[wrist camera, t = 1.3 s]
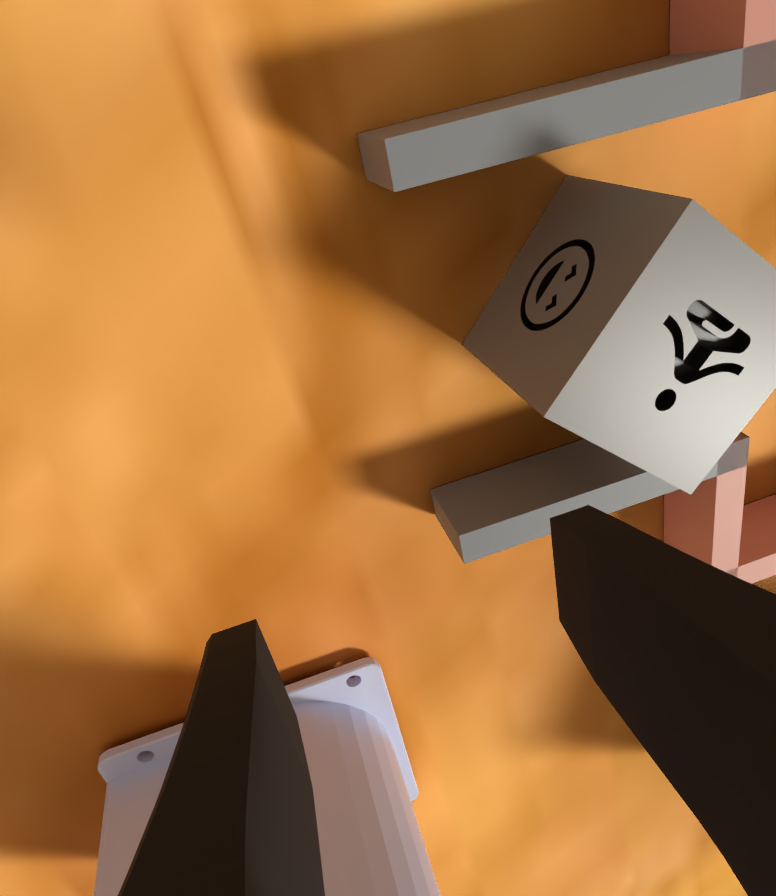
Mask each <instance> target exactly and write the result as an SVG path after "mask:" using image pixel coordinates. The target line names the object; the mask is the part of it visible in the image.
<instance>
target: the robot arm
mask: <svg viewBox="0 0 776 896" xmlns="http://www.w3.org/2000/svg"><path fill="white" fill-rule="evenodd" d="M550 526H551V537H552V547H553V557H554V567H555V578H556V588H557V598H558V608H559V619H560V622H561V624H562V625H563V627H564V629H565V631H566V632H567V634H568V636H569V638H570V640H571V641H572V643H573V645H574V647H575V648H576V650H577V652H578V654H579V655H580V657H581V659H582V660H583V662H584V664H585V666H586V667H587V669H588V671H589V672H590V674H591V676H592V677H593V679H594V681H595V682H596V683H597V685H598V686H599V688H600V689H601V690H602V692H603V693H604V694H605V696H606V697H607V699H608V700H609V701H610V703H611V704H612V705H613V707H614V708H615V709H616V711H617V712H618V713H619V715H620V716H621V717H622V719H623V720H624V721H625V723H626V724H627V726H628V727H629V728H630V730H631V731H632V732H633V734H634V735H635V736H636V738H637V739H638V740H639V742H640V743H641V744H642V746H643V747H644V748H645V750H646V751H647V752H648V754H649V755H650V756H651V758H652V759H653V760H654V762H655V763H656V764H657V766H658V767H659V768H660V770H661V771H662V772H663V774H664V775H665V776H666V778H667V779H668V780H669V782H670V783H671V784H672V786H673V787H674V788H675V790H676V791H677V792H678V794H679V795H680V796H681V798H682V799H683V800H684V801H685V803H686V804H687V805H688V807H689V808H690V809H691V811H692V812H693V813H694V815H695V816H696V817H697V819H698V820H699V822H700V823H701V824H702V826H703V827H704V829H705V830H706V832H707V833H708V835H709V836H710V837H711V839H712V840H713V842H714V843H715V845H716V846H717V847H718V849H719V850H720V852H721V853H722V855H723V856H724V858H725V859H726V861H727V863H728V864H729V866H730V867H731V869H732V871H733V872H734V874H735V875H736V877H737V879H738V880H739V882H740V883H741V885H742V887H743V888H744V890H745V891H746V893H747V895H748V896H776V594H773V593H771V592H769V591H767V590H764V589H762V588H760V587H758V586H755V585H753V584H751V583H749V582H746V581H744V580H742V579H740V578H737V577H735V576H733V575H731V574H729V573H727V572H724V571H722V570H720V569H718V568H716V567H714V566H712V565H709V564H707V563H705V562H703V561H701V560H699V559H697V558H695V557H693V556H691V555H689V554H687V553H684V552H682V551H680V550H678V549H676V548H674V547H672V546H670V545H668V544H666V543H664V542H662V541H660V540H658V539H656V538H654V537H652V536H650V535H648V534H646V533H644V532H642V531H640V530H638V529H636V528H634V527H632V526H630V525H628V524H626V523H624V522H622V521H620V520H618V519H616V518H614V517H612V516H610V515H608V514H606V513H604V512H602V511H600V510H598V509H596V508H594V507H592V506H590V505H587V506H584V507H581V508H578V509H575V510H572V511H569V512H566V513H563V514H560V515H557V516H555V517H552V518H550ZM354 675H357V676H355V677H353V678H349V677H351V676H354ZM143 751H149V752H143ZM98 771H99V773H100V775H101V776H102V778H103V779H104V780H105V782H106V783H107V788H106V796H105V805H104V813H103V821H102V830H101V838H100V846H99V855H98V863H97V871H96V880H95V888H94V896H441V895H440V892H439V889H438V885H437V882H436V879H435V876H434V873H433V870H432V866H431V863H430V860H429V857H428V854H427V851H426V848H425V844H424V841H423V838H422V835H421V832H420V829H419V826H418V822H417V819H416V816H415V813H414V810H413V807H412V803H411V802H412V801H414V800H415V799H416V797H417V796H418V788H417V785H416V781H415V778H414V775H413V771H412V768H411V765H410V762H409V758H408V755H407V752H406V748H405V745H404V742H403V739H402V735H401V732H400V729H399V725H398V722H397V719H396V715H395V712H394V709H393V706H392V702H391V699H390V696H389V692H388V689H387V686H386V683H385V679H384V676H383V673H382V669H381V667H380V664H379V662H378V660H376V659H375V658H371V657H366V658H362V659H359V660H356V661H353V662H350V663H348V664H345V665H342V666H339V667H337V668H334V669H331V670H328V671H325V672H323V673H320V674H317V675H314V676H311V677H309V678H306V679H303V680H300V681H298V682H295V683H292V684H289V685H286V686H284V684H283V682H282V680H281V677H280V675H279V673H278V670H277V668H276V665H275V663H274V661H273V658H272V656H271V654H270V651H269V649H268V647H267V644H266V642H265V639H264V637H263V635H262V632H261V630H260V628H259V625H258V623H257V620H256V619H255V620H252V621H249V622H246V623H243V624H240V625H237V626H234V627H231V628H229V629H226V630H223V631H220V632H217V633H214V634H212V635H211V637H210V638H209V640H208V641H207V643H206V647H205V651H204V655H203V659H202V663H201V666H200V670H199V674H198V677H197V681H196V684H195V688H194V691H193V694H192V698H191V701H190V704H189V708H188V711H187V714H186V717H185V720H184V722H183V723H180V724H178V725H175V726H172V727H169V728H167V729H164V730H161V731H158V732H155V733H153V734H150V735H147V736H144V737H141V738H139V739H136V740H133V741H130V742H128V743H125V744H122V745H119V746H116V747H114V748H111V749H108V750H107V751H105V752H103V753H102V754H101V755H100V757H99V761H98Z"/></svg>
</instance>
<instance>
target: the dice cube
mask: <svg viewBox="0 0 776 896" xmlns="http://www.w3.org/2000/svg"><path fill="white" fill-rule="evenodd" d="M462 345H463V346H464V347H465V348H466V349H468V350H469V351H470V352H471V353H472V354H473V355H474V356H475V357H477V358H478V359H479V360H480V361H481V362H482V363H483V364H484V365H486V366H487V367H488V368H489V369H490V370H491V371H492V372H493V373H495V374H496V375H497V376H498V377H499V378H500V379H501V380H502V381H504V382H505V383H506V384H507V385H508V386H509V387H510V388H511V389H513V390H514V391H515V392H516V393H517V394H518V395H519V396H520V397H522V398H523V399H524V400H525V401H526V402H527V403H528V404H529V405H531V406H532V407H533V408H534V409H535V410H536V411H537V412H538V413H540V414H541V415H542V416H543V417H545V418H546V419H548V420H550V421H552V422H554V423H556V424H558V425H560V426H562V427H563V428H565V429H567V430H569V431H571V432H573V433H575V434H577V435H579V436H581V437H582V438H584V439H586V440H588V441H590V442H592V443H594V444H596V445H598V446H599V447H601V448H603V449H605V450H607V451H609V452H611V453H613V454H615V455H617V456H618V457H620V458H622V459H624V460H626V461H628V462H630V463H632V464H634V465H635V466H637V467H639V468H641V469H643V470H645V471H647V472H649V473H651V474H653V475H654V476H656V477H658V478H660V479H662V480H664V481H666V482H668V483H670V484H671V485H673V486H675V487H677V488H679V489H681V490H683V491H685V492H687V493H689V494H690V495H691V494H692V493H693V492H694V490H695V489H696V488H697V487H698V485H699V484H700V483H701V481H702V480H703V479H704V478H705V476H706V475H707V474H708V473H709V471H710V470H711V469H712V468H713V466H714V465H715V464H716V462H717V461H718V460H719V459H720V457H721V456H722V455H723V454H724V452H725V451H726V450H727V449H728V447H729V446H730V445H731V443H732V442H733V441H734V440H735V438H736V437H737V436H738V435H739V433H740V432H741V431H742V430H743V428H744V427H745V426H746V424H747V423H748V422H749V421H750V419H751V418H752V417H753V416H754V414H755V413H756V412H757V411H758V409H759V408H760V407H761V405H762V404H763V403H764V402H765V400H766V399H767V398H768V397H769V395H770V394H771V393H772V392H773V390H774V389H775V388H776V269H775V268H774V267H773V266H771V265H770V264H769V263H768V262H767V261H766V260H764V259H763V258H762V257H761V256H760V255H758V254H757V253H756V252H755V251H754V250H752V249H751V248H750V247H749V246H748V245H747V244H745V243H744V242H743V241H742V240H741V239H739V238H738V237H737V236H736V235H735V234H733V233H732V232H731V231H730V230H729V229H728V228H726V227H725V226H724V225H723V224H722V223H720V222H719V221H718V220H717V219H716V218H714V217H713V216H712V215H711V214H710V213H709V212H707V211H706V210H705V209H704V208H703V207H701V206H700V205H699V204H698V203H697V202H695V201H694V200H693V199H689V198H684V197H679V196H674V195H669V194H663V193H658V192H653V191H648V190H642V189H637V188H632V187H627V186H622V185H616V184H611V183H606V182H601V181H595V180H590V179H585V178H580V177H575V176H569V175H567V176H566V177H565V179H564V181H563V182H562V184H561V185H560V187H559V189H558V190H557V192H556V194H555V195H554V197H553V198H552V200H551V202H550V203H549V205H548V206H547V208H546V210H545V211H544V213H543V214H542V216H541V218H540V219H539V221H538V222H537V224H536V226H535V227H534V229H533V231H532V232H531V234H530V235H529V237H528V239H527V240H526V242H525V243H524V245H523V247H522V248H521V250H520V251H519V253H518V255H517V256H516V258H515V260H514V261H513V263H512V264H511V266H510V268H509V269H508V271H507V272H506V274H505V276H504V277H503V279H502V280H501V282H500V284H499V285H498V287H497V288H496V290H495V292H494V293H493V295H492V297H491V298H490V300H489V301H488V303H487V305H486V306H485V308H484V309H483V311H482V313H481V314H480V316H479V317H478V319H477V321H476V322H475V324H474V326H473V327H472V329H471V330H470V332H469V334H468V335H467V337H466V338H465V340H464V342H463V343H462Z"/></svg>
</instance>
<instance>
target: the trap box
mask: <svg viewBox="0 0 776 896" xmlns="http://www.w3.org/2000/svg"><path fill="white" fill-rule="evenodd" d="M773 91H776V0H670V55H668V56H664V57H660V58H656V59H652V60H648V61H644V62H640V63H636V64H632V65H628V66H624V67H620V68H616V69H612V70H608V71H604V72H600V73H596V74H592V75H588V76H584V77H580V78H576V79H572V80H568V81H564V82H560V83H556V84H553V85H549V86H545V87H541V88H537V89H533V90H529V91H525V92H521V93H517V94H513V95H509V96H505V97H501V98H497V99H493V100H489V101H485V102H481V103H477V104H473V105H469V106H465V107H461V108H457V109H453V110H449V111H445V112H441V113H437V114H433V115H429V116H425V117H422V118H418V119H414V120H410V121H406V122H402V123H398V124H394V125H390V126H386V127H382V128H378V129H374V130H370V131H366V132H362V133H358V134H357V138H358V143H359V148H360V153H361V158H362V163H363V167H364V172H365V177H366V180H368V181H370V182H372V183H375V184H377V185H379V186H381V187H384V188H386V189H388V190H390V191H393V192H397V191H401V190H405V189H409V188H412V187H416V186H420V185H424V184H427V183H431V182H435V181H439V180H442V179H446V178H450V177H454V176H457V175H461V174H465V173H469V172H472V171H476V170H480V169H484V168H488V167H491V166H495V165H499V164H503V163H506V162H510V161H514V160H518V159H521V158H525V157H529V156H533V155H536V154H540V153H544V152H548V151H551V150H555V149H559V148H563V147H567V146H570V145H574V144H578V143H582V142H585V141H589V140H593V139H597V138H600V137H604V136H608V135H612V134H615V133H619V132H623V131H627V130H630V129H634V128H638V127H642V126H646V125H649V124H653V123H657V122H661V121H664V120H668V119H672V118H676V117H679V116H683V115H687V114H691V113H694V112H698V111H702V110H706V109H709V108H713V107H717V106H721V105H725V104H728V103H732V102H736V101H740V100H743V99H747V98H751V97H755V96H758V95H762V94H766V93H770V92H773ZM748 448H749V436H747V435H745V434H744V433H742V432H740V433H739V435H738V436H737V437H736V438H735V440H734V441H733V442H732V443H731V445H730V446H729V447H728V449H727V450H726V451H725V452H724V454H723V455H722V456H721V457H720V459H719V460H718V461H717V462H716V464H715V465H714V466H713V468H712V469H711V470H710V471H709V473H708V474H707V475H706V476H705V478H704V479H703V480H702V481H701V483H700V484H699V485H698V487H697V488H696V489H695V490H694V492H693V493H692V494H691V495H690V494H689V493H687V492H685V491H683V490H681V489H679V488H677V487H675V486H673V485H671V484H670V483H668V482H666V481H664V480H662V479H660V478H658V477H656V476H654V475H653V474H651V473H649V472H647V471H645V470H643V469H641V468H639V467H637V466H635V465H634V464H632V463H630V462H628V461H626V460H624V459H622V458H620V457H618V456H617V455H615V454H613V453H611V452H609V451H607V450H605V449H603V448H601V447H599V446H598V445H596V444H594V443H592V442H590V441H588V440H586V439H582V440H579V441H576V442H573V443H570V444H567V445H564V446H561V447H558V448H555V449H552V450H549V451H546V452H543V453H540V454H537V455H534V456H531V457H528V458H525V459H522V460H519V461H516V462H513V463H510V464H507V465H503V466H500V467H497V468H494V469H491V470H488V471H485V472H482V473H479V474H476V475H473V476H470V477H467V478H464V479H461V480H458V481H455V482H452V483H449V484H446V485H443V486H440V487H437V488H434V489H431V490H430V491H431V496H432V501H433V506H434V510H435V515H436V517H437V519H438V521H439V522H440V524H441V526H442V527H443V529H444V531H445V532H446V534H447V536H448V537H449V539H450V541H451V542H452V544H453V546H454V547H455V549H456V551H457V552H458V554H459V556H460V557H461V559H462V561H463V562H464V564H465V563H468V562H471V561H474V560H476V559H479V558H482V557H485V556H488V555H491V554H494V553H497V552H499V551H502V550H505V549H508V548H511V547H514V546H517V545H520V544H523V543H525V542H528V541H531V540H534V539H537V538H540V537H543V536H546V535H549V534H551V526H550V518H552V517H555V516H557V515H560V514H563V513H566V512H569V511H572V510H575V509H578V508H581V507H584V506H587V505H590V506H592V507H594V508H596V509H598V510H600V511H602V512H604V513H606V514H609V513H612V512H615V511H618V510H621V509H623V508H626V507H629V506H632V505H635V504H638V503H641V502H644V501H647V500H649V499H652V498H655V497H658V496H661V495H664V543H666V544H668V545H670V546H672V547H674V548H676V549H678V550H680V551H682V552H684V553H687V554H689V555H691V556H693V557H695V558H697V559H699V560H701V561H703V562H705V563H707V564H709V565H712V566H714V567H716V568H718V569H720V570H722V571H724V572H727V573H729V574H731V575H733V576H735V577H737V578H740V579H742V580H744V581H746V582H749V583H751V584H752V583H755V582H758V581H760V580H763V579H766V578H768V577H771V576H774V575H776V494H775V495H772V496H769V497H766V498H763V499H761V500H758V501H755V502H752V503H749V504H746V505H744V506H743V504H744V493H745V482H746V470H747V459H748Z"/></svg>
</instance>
